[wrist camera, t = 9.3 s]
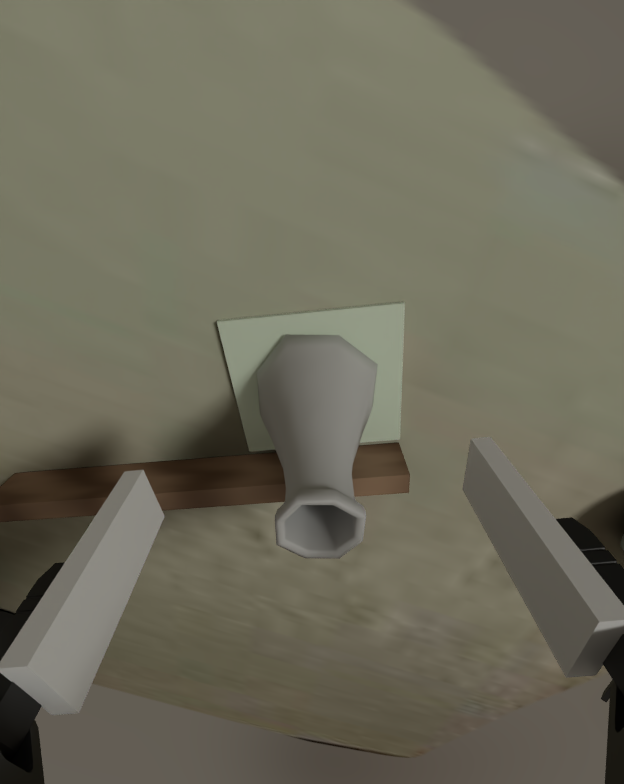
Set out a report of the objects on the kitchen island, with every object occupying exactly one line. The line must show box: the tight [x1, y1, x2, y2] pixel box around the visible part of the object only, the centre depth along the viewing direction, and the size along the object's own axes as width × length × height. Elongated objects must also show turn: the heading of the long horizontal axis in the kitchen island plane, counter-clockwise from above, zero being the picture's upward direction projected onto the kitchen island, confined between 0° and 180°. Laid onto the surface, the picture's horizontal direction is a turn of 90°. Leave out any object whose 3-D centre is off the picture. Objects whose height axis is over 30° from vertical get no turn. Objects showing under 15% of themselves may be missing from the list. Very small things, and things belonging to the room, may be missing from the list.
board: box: [217, 302, 405, 452], centre depth 20 cm, size 10×9×1 cm
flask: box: [257, 334, 378, 558], centre depth 16 cm, size 7×7×10 cm
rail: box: [0, 443, 410, 522], centre depth 22 cm, size 27×2×3 cm, turn 96°
